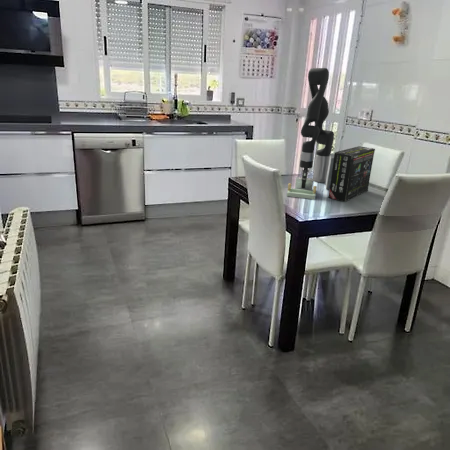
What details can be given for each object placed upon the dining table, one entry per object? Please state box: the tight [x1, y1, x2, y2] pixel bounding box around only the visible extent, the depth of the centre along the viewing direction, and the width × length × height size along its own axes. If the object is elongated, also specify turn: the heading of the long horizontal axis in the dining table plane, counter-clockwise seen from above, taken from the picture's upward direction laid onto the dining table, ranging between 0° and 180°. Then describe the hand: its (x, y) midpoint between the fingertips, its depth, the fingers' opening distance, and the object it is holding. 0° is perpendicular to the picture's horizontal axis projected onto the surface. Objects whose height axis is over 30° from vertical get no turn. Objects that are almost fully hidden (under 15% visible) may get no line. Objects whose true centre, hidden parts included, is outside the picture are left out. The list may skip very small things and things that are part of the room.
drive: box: [294, 176, 314, 191], centre depth 243 cm, size 5×10×6 cm, turn 84°
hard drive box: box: [325, 153, 334, 190], centre depth 250 cm, size 16×8×20 cm, turn 168°
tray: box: [286, 182, 317, 200], centre depth 230 cm, size 11×16×6 cm
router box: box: [328, 145, 376, 203], centre depth 234 cm, size 36×11×27 cm, turn 141°
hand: (303, 186), depth 244 cm, fingers closed on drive, 5 cm apart
